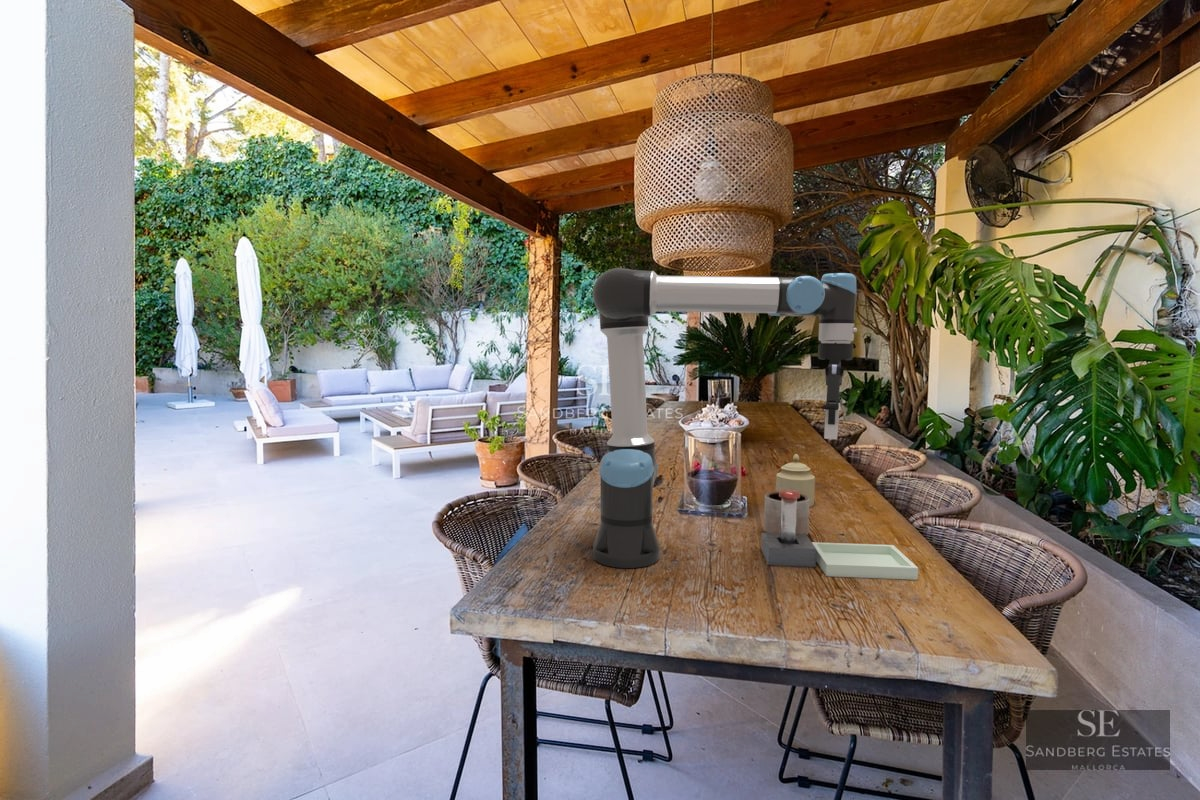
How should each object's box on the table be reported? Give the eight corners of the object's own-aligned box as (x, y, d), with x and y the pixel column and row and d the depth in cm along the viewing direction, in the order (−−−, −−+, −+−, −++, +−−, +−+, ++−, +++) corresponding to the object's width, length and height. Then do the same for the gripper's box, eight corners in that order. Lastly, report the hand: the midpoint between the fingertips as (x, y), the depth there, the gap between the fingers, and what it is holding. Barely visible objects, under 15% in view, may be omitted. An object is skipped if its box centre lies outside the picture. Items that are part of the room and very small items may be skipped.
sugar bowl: (763, 496, 192) (764, 448, 191) (795, 494, 194) (797, 447, 193) (786, 509, 178) (788, 457, 176) (821, 507, 180) (823, 456, 178)
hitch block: (768, 565, 134) (768, 547, 133) (761, 549, 144) (761, 532, 143) (815, 567, 133) (816, 549, 132) (805, 551, 143) (805, 534, 142)
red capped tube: (779, 561, 136) (781, 493, 135) (775, 554, 141) (777, 488, 139) (799, 561, 136) (801, 494, 134) (795, 554, 140) (797, 489, 139)
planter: (811, 541, 149) (812, 503, 148) (764, 538, 151) (765, 500, 150) (805, 528, 160) (806, 492, 159) (762, 525, 162) (763, 490, 161)
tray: (826, 576, 128) (826, 564, 127) (810, 552, 141) (811, 542, 141) (917, 579, 126) (918, 567, 125) (892, 555, 139) (893, 545, 139)
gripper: (854, 343, 128) (848, 444, 130) (853, 342, 151) (848, 428, 153) (816, 342, 131) (811, 441, 133) (820, 342, 154) (816, 426, 156)
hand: (831, 434), depth 143 cm, fingers open, 13 cm apart
